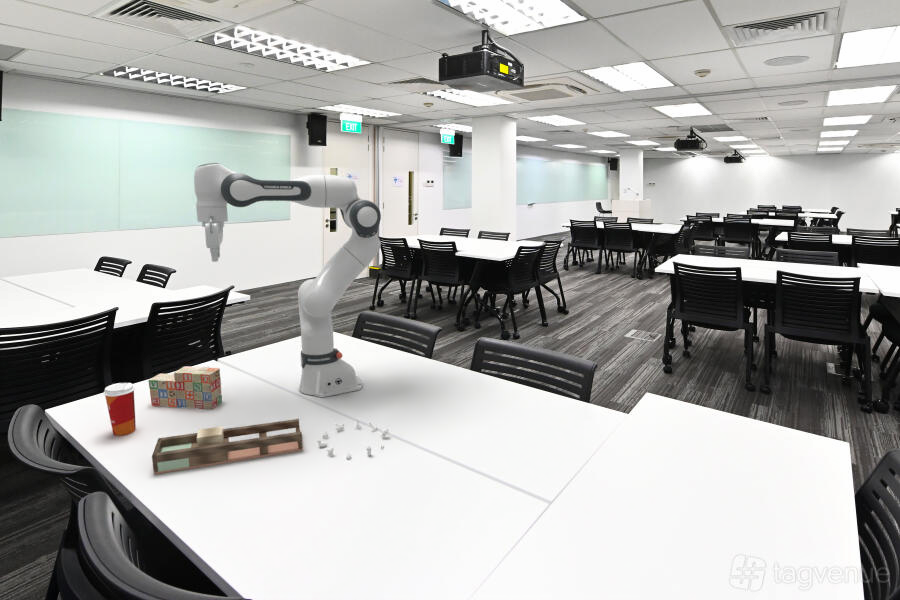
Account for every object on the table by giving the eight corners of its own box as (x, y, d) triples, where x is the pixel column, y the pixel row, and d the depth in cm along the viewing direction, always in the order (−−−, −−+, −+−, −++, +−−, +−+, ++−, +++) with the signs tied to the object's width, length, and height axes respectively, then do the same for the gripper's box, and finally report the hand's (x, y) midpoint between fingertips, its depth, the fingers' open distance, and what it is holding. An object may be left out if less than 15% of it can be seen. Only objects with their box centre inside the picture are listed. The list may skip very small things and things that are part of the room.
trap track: (299, 434, 150) (298, 418, 149) (302, 450, 141) (301, 433, 140) (160, 455, 137) (158, 438, 136) (154, 474, 128) (151, 456, 127)
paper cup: (118, 425, 154) (112, 382, 151) (144, 425, 154) (139, 381, 152) (103, 438, 146) (96, 392, 143) (131, 437, 147) (125, 391, 144)
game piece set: (390, 427, 156) (390, 416, 155) (384, 461, 136) (384, 448, 135) (326, 427, 155) (325, 416, 154) (311, 462, 136) (310, 448, 135)
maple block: (223, 439, 140) (222, 426, 139) (223, 448, 135) (221, 434, 135) (199, 443, 138) (198, 429, 137) (198, 452, 133) (196, 437, 132)
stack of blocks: (150, 406, 168) (146, 370, 166) (163, 398, 174) (159, 364, 172) (212, 409, 166) (209, 374, 164) (222, 402, 172) (220, 367, 170)
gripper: (221, 217, 153) (225, 263, 156) (224, 214, 172) (227, 255, 175) (198, 217, 151) (202, 264, 154) (204, 214, 170) (207, 256, 173)
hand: (216, 259), depth 165 cm, fingers open, 8 cm apart
